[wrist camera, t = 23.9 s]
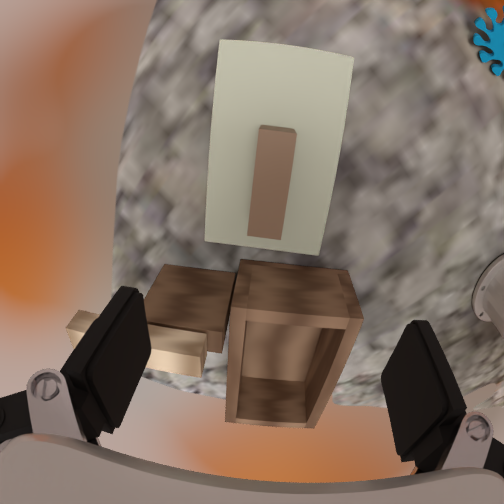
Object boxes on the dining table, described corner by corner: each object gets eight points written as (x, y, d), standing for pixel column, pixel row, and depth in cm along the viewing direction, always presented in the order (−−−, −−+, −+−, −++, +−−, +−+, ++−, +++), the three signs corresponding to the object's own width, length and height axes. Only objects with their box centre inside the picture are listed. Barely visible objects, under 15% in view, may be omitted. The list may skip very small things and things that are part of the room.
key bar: (206, 333, 28) (200, 357, 25) (206, 354, 29) (201, 377, 27) (79, 309, 28) (65, 327, 25) (85, 330, 29) (73, 348, 27)
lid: (350, 59, 25) (366, 51, 20) (317, 249, 36) (323, 277, 30) (222, 42, 25) (210, 30, 20) (207, 235, 36) (195, 261, 31)
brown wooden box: (347, 270, 36) (367, 329, 27) (311, 382, 47) (314, 436, 37) (163, 250, 37) (130, 302, 27) (175, 367, 47) (158, 418, 38)
